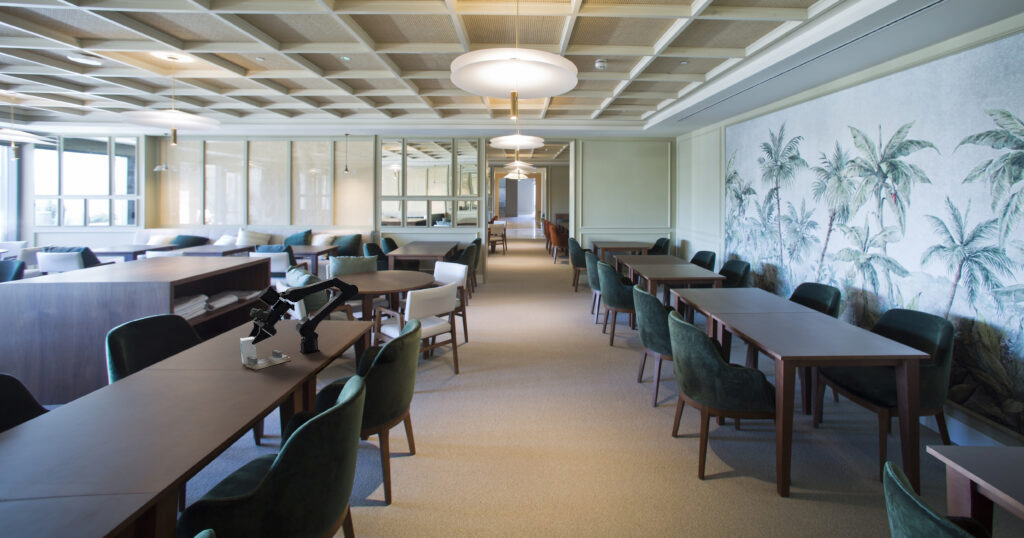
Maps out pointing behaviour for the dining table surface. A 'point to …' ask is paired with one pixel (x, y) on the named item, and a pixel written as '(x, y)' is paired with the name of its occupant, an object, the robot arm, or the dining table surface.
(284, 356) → the rail board
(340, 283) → the robot arm
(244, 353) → the block
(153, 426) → the dining table surface
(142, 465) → the dining table surface
